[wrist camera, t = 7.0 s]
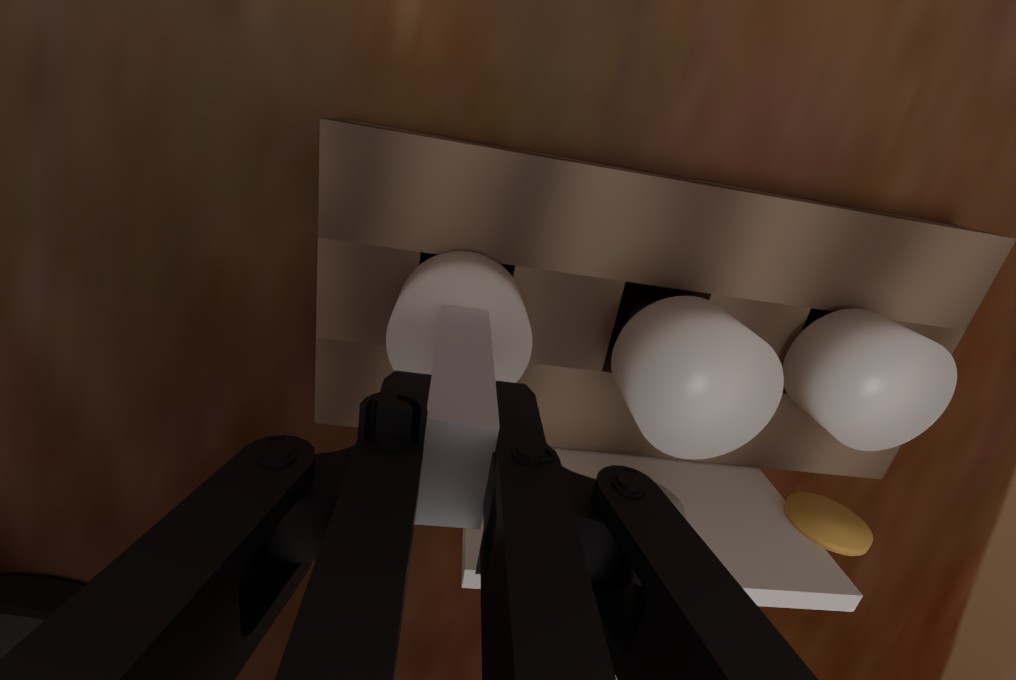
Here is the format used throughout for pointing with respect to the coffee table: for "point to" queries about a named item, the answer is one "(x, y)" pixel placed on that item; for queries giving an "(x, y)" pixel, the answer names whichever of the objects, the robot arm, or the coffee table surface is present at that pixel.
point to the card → (741, 528)
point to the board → (616, 273)
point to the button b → (695, 377)
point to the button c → (868, 378)
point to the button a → (460, 286)
